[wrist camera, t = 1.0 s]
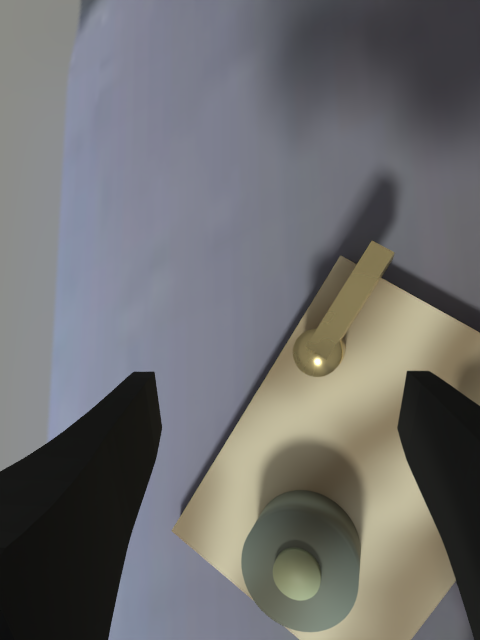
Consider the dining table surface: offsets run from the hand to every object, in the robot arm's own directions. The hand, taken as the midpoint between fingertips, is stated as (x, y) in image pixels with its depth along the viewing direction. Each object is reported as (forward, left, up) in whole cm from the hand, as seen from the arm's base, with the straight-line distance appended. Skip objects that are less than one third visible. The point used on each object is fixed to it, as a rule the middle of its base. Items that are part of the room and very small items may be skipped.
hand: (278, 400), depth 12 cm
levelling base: (-4, +4, -14) cm, 15 cm away
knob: (+1, -3, -12) cm, 13 cm away
